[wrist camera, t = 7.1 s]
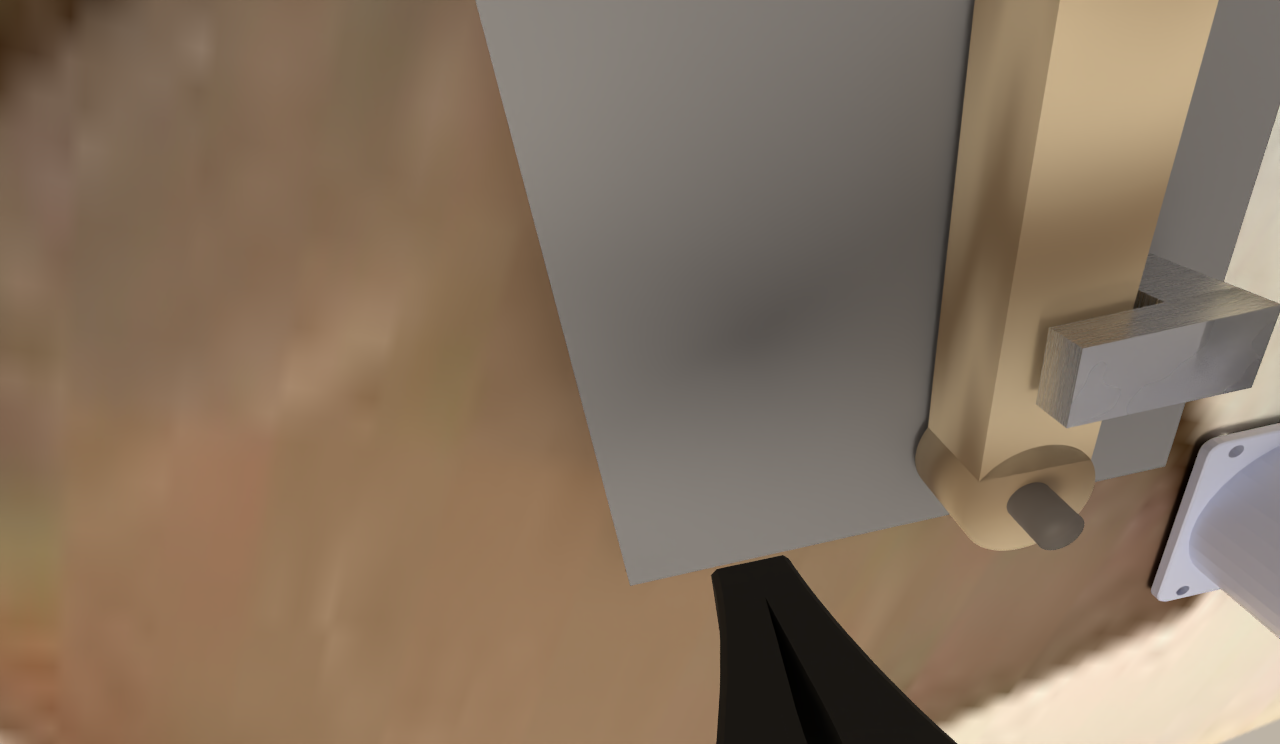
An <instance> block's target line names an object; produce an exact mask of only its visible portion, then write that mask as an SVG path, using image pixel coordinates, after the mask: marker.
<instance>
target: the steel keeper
mask: <svg viewBox="0 0 1280 744" xmlns="http://www.w3.org/2000/svg"><path fill="white" fill-rule="evenodd" d="M1279 313H1280V304H1279V303H1276V302H1274V301H1271V300H1269V299H1266V298H1264V297H1261V296H1258V295H1256V294H1253V293H1251V292H1248V291H1246V290H1243V289H1240V288H1238V287H1235V286H1233V285H1230V284H1228V283H1225V282H1223V281H1220V280H1217V279H1215V278H1212V277H1210V276H1207V275H1205V274H1202V273H1199V272H1197V271H1194V270H1192V269H1189V268H1187V267H1184V266H1182V265H1179V264H1176V263H1174V262H1171V261H1169V260H1166V259H1164V258H1161V257H1159V256H1156V255H1153V254H1151V253H1148V257H1147V260H1146V264H1145V267H1144V271H1143V275H1142V278H1141V282H1140V285H1139V289H1138V293H1137V296H1136V300H1135V303H1134V307H1133V309H1131V310H1127V311H1122V312H1117V313H1113V314H1108V315H1104V316H1099V317H1094V318H1090V319H1085V320H1081V321H1076V322H1071V323H1067V324H1062V325H1058V326H1053V327H1049V330H1048V336H1047V342H1046V348H1045V353H1044V359H1043V365H1042V371H1041V377H1040V382H1039V388H1038V394H1037V400H1036V405H1038V406H1039V407H1040V408H1041V409H1043V410H1044V411H1045V412H1046V413H1048V414H1049V415H1050V416H1052V417H1053V418H1054V419H1055V420H1057V421H1058V422H1059V423H1060V424H1062V425H1063V426H1064V427H1065V428H1070V427H1075V426H1080V425H1084V424H1089V423H1093V422H1098V421H1102V420H1107V419H1111V418H1116V417H1120V416H1125V415H1129V414H1134V413H1138V412H1143V411H1147V410H1152V409H1156V408H1161V407H1165V406H1170V405H1175V404H1179V403H1184V402H1188V401H1193V400H1197V399H1202V398H1206V397H1211V396H1215V395H1220V394H1224V393H1229V392H1233V391H1238V390H1242V389H1247V388H1251V387H1252V385H1253V382H1254V379H1255V377H1256V374H1257V371H1258V369H1259V366H1260V363H1261V361H1262V358H1263V355H1264V353H1265V350H1266V348H1267V345H1268V342H1269V340H1270V337H1271V334H1272V332H1273V329H1274V326H1275V324H1276V321H1277V318H1278V316H1279Z"/></svg>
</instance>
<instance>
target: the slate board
mask: <svg viewBox="0 0 1280 744" xmlns="http://www.w3.org/2000/svg"><path fill="white" fill-rule="evenodd" d="M974 3H975V0H476V4H477V8H478V12H479V15H480V19H481V23H482V27H483V30H484V34H485V38H486V42H487V46H488V49H489V53H490V57H491V61H492V64H493V68H494V72H495V76H496V80H497V83H498V87H499V91H500V95H501V99H502V102H503V106H504V110H505V114H506V117H507V121H508V125H509V129H510V133H511V136H512V140H513V144H514V148H515V152H516V155H517V159H518V163H519V167H520V170H521V174H522V178H523V182H524V186H525V189H526V193H527V197H528V201H529V205H530V208H531V212H532V216H533V220H534V223H535V227H536V231H537V235H538V239H539V242H540V246H541V250H542V254H543V258H544V261H545V265H546V269H547V273H548V276H549V280H550V284H551V288H552V292H553V295H554V299H555V303H556V307H557V310H558V314H559V318H560V322H561V326H562V329H563V333H564V337H565V341H566V345H567V348H568V352H569V356H570V360H571V363H572V367H573V371H574V375H575V379H576V382H577V386H578V390H579V394H580V398H581V401H582V405H583V409H584V413H585V416H586V420H587V424H588V428H589V432H590V435H591V439H592V443H593V447H594V451H595V454H596V458H597V462H598V466H599V469H600V473H601V477H602V481H603V485H604V488H605V492H606V496H607V500H608V504H609V507H610V511H611V515H612V519H613V522H614V526H615V530H616V534H617V538H618V541H619V545H620V549H621V553H622V556H623V560H624V564H625V568H626V572H627V575H628V579H629V583H630V586H631V585H636V584H640V583H645V582H649V581H653V580H658V579H662V578H667V577H671V576H676V575H680V574H685V573H689V572H694V571H698V570H703V569H707V568H712V567H716V566H721V565H725V564H730V563H734V562H739V561H743V560H748V559H752V558H756V557H761V556H765V555H770V554H774V553H779V552H783V551H788V550H792V549H797V548H801V547H806V546H810V545H815V544H819V543H824V542H828V541H833V540H837V539H842V538H846V537H850V536H855V535H859V534H864V533H868V532H873V531H877V530H882V529H886V528H891V527H895V526H900V525H904V524H909V523H913V522H918V521H922V520H927V519H931V518H936V517H940V516H945V515H949V512H948V511H947V510H946V509H945V508H944V506H943V505H942V504H941V503H940V501H939V500H938V499H937V498H936V496H935V495H934V494H933V493H932V491H931V490H930V489H929V488H928V486H927V485H926V484H925V483H924V482H923V480H922V479H921V478H920V476H919V474H918V472H917V469H916V464H915V455H916V450H917V447H918V444H919V441H920V439H921V437H922V435H923V434H924V432H925V431H926V429H927V428H928V423H929V414H930V405H931V395H932V386H933V377H934V368H935V359H936V350H937V341H938V332H939V322H940V313H941V304H942V295H943V286H944V277H945V268H946V259H947V249H948V240H949V231H950V222H951V213H952V204H953V195H954V186H955V176H956V167H957V158H958V149H959V140H960V131H961V122H962V113H963V103H964V94H965V85H966V76H967V67H968V58H969V49H970V40H971V30H972V21H973V12H974ZM1279 106H1280V0H1219V1H1218V5H1217V8H1216V12H1215V15H1214V19H1213V23H1212V26H1211V30H1210V33H1209V37H1208V41H1207V44H1206V48H1205V51H1204V55H1203V59H1202V62H1201V66H1200V69H1199V73H1198V77H1197V80H1196V84H1195V87H1194V91H1193V95H1192V98H1191V102H1190V105H1189V109H1188V113H1187V116H1186V120H1185V123H1184V127H1183V131H1182V134H1181V138H1180V141H1179V145H1178V149H1177V152H1176V156H1175V159H1174V163H1173V167H1172V170H1171V174H1170V177H1169V181H1168V185H1167V188H1166V192H1165V195H1164V199H1163V203H1162V206H1161V210H1160V213H1159V217H1158V221H1157V224H1156V228H1155V231H1154V235H1153V239H1152V242H1151V246H1150V249H1149V253H1151V254H1153V255H1156V256H1159V257H1161V258H1164V259H1166V260H1169V261H1171V262H1174V263H1176V264H1179V265H1182V266H1184V267H1187V268H1189V269H1192V270H1194V271H1197V272H1199V273H1202V274H1205V275H1207V276H1210V277H1212V278H1215V279H1217V280H1220V281H1223V282H1224V279H1225V276H1226V273H1227V270H1228V266H1229V263H1230V260H1231V257H1232V254H1233V251H1234V248H1235V244H1236V241H1237V238H1238V235H1239V232H1240V229H1241V225H1242V222H1243V219H1244V216H1245V213H1246V210H1247V207H1248V203H1249V200H1250V197H1251V194H1252V191H1253V188H1254V184H1255V181H1256V178H1257V175H1258V172H1259V169H1260V166H1261V162H1262V159H1263V156H1264V153H1265V150H1266V147H1267V143H1268V140H1269V137H1270V134H1271V131H1272V128H1273V125H1274V121H1275V118H1276V115H1277V112H1278V109H1279ZM1184 405H1185V402H1184V403H1179V404H1175V405H1170V406H1165V407H1161V408H1156V409H1152V410H1147V411H1143V412H1138V413H1134V414H1129V415H1125V416H1120V417H1116V418H1111V419H1107V420H1102V422H1101V426H1100V430H1099V433H1098V437H1097V440H1096V444H1095V448H1094V451H1093V455H1092V458H1091V461H1092V463H1093V465H1094V468H1095V482H1097V481H1101V480H1106V479H1110V478H1115V477H1119V476H1124V475H1128V474H1133V473H1137V472H1142V471H1146V470H1151V469H1155V468H1159V467H1164V466H1165V465H1166V462H1167V459H1168V456H1169V453H1170V449H1171V446H1172V443H1173V440H1174V437H1175V434H1176V431H1177V427H1178V424H1179V421H1180V418H1181V415H1182V412H1183V408H1184Z"/></svg>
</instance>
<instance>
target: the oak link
mask: <svg viewBox="0 0 1280 744" xmlns="http://www.w3.org/2000/svg"><path fill="white" fill-rule="evenodd" d="M1218 1H1219V0H975V3H974V12H973V21H972V30H971V40H970V49H969V58H968V67H967V76H966V85H965V94H964V103H963V113H962V122H961V131H960V140H959V149H958V158H957V167H956V176H955V186H954V195H953V204H952V213H951V222H950V231H949V240H948V249H947V259H946V268H945V277H944V286H943V295H942V304H941V313H940V322H939V332H938V341H937V350H936V359H935V368H934V377H933V386H932V395H931V405H930V414H929V423H928V428H927V429H926V431H925V432H924V434H923V435H922V437H921V439H920V441H919V444H918V447H917V450H916V455H915V464H916V469H917V472H918V474H919V476H920V478H921V479H922V480H923V482H924V483H925V484H926V485H927V486H928V488H929V489H930V490H931V491H932V493H933V494H934V495H935V496H936V498H937V499H938V500H939V501H940V503H941V504H942V505H943V506H944V508H945V509H946V510H947V511H948V512H949V514H950V515H951V516H952V517H953V519H954V520H955V521H956V522H957V524H958V525H959V526H960V527H961V529H962V530H963V531H964V532H965V534H966V535H967V536H968V537H969V538H970V539H971V541H973V542H974V543H975V544H977V545H979V546H981V547H983V548H986V549H991V550H1000V551H1004V550H1014V549H1019V548H1023V547H1027V546H1030V545H1033V544H1036V543H1037V544H1038V545H1039V547H1041V548H1042V549H1045V550H1056V549H1060V548H1063V547H1065V546H1067V545H1069V544H1070V543H1072V542H1073V541H1074V540H1075V539H1077V538H1078V536H1079V535H1080V534H1081V532H1082V530H1083V528H1084V520H1083V518H1082V517H1081V516H1080V515H1079V512H1080V511H1081V510H1082V509H1083V507H1084V506H1085V504H1086V503H1087V501H1088V499H1089V497H1090V495H1091V493H1092V490H1093V488H1094V483H1095V468H1094V465H1093V463H1092V461H1091V458H1092V455H1093V451H1094V448H1095V444H1096V440H1097V437H1098V433H1099V430H1100V426H1101V422H1102V421H1098V422H1093V423H1089V424H1084V425H1080V426H1075V427H1070V428H1065V427H1064V426H1063V425H1062V424H1060V423H1059V422H1058V421H1057V420H1055V419H1054V418H1053V417H1052V416H1050V415H1049V414H1048V413H1046V412H1045V411H1044V410H1043V409H1041V408H1040V407H1039V406H1038V405H1036V400H1037V394H1038V388H1039V382H1040V377H1041V371H1042V365H1043V359H1044V353H1045V348H1046V342H1047V336H1048V330H1049V327H1053V326H1058V325H1062V324H1067V323H1071V322H1076V321H1081V320H1085V319H1090V318H1094V317H1099V316H1104V315H1108V314H1113V313H1117V312H1122V311H1127V310H1131V309H1133V307H1134V303H1135V300H1136V296H1137V293H1138V289H1139V285H1140V282H1141V278H1142V275H1143V271H1144V267H1145V264H1146V260H1147V257H1148V253H1149V249H1150V246H1151V242H1152V239H1153V235H1154V231H1155V228H1156V224H1157V221H1158V217H1159V213H1160V210H1161V206H1162V203H1163V199H1164V195H1165V192H1166V188H1167V185H1168V181H1169V177H1170V174H1171V170H1172V167H1173V163H1174V159H1175V156H1176V152H1177V149H1178V145H1179V141H1180V138H1181V134H1182V131H1183V127H1184V123H1185V120H1186V116H1187V113H1188V109H1189V105H1190V102H1191V98H1192V95H1193V91H1194V87H1195V84H1196V80H1197V77H1198V73H1199V69H1200V66H1201V62H1202V59H1203V55H1204V51H1205V48H1206V44H1207V41H1208V37H1209V33H1210V30H1211V26H1212V23H1213V19H1214V15H1215V12H1216V8H1217V5H1218Z"/></svg>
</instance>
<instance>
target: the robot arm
mask: <svg viewBox="0 0 1280 744" xmlns="http://www.w3.org/2000/svg"><path fill="white" fill-rule="evenodd" d="M711 577H712V583H713V590H714V597H715V603H716V610H717V617H718V623H719V630H720V698H719V713H718V728H717V742H716V744H957V743H956V742H955V741H954V740H953V739H952V738H950V737H949V736H948V735H947V734H946V733H945V732H944V731H943V730H942V729H940V728H939V727H938V726H937V725H936V724H935V723H934V722H933V721H932V720H931V719H930V718H929V717H928V716H927V715H925V714H924V713H923V712H922V711H921V710H920V709H919V708H918V707H917V706H916V705H915V704H914V703H913V702H912V701H911V700H910V699H909V698H908V697H907V696H906V695H905V694H904V693H903V692H902V691H901V690H900V689H899V688H898V687H897V686H896V685H895V684H894V683H893V682H892V681H891V680H890V679H889V678H888V677H887V676H886V675H885V674H884V673H883V672H882V671H881V670H880V669H879V668H878V666H877V665H876V664H875V663H874V662H873V661H872V660H871V659H870V658H869V657H868V656H867V655H866V653H865V652H864V651H863V650H862V649H861V648H860V647H859V646H858V645H857V644H856V642H855V641H854V640H853V639H852V638H851V637H850V636H849V635H848V634H847V632H846V631H845V630H844V629H843V628H842V627H841V626H840V624H839V623H838V622H837V621H836V620H835V619H834V617H833V616H832V615H831V614H830V613H829V611H828V610H827V609H826V608H825V606H824V605H823V604H822V603H821V602H820V600H819V599H818V598H817V597H816V595H815V594H814V593H813V591H812V590H811V589H810V588H809V586H808V585H807V584H806V582H805V581H804V580H803V578H802V577H801V576H800V574H799V573H798V571H797V570H796V569H795V567H794V566H793V564H792V563H791V561H790V560H789V559H788V558H786V557H785V556H783V555H782V556H777V557H773V558H768V559H763V560H758V561H754V562H749V563H744V564H739V565H735V566H730V567H725V568H720V569H717V570H716V571H715V572H714V573H713V574H712V575H711ZM1218 589H1222V590H1223V591H1224V592H1225V593H1226V594H1228V595H1229V596H1230V597H1231V598H1232V599H1233V600H1235V601H1236V602H1237V603H1238V604H1239V605H1240V606H1242V607H1243V608H1244V609H1245V610H1246V611H1248V612H1249V613H1250V614H1251V615H1252V616H1253V617H1255V618H1256V619H1257V620H1258V621H1259V622H1260V623H1262V624H1263V625H1264V626H1265V627H1266V628H1268V629H1269V630H1270V631H1271V632H1272V633H1273V634H1275V635H1276V636H1277V637H1278V638H1279V639H1280V423H1277V424H1273V425H1268V426H1264V427H1259V428H1255V429H1250V430H1246V431H1241V432H1237V433H1232V434H1228V435H1223V436H1219V437H1215V438H1212V439H1210V440H1208V441H1206V442H1205V443H1204V444H1203V445H1202V446H1201V448H1200V450H1199V452H1198V455H1197V458H1196V461H1195V464H1194V466H1193V469H1192V472H1191V475H1190V478H1189V481H1188V484H1187V487H1186V490H1185V492H1184V495H1183V498H1182V501H1181V504H1180V507H1179V510H1178V513H1177V516H1176V518H1175V521H1174V524H1173V527H1172V530H1171V533H1170V536H1169V539H1168V542H1167V544H1166V547H1165V550H1164V553H1163V556H1162V559H1161V562H1160V565H1159V568H1158V570H1157V573H1156V576H1155V579H1154V582H1153V585H1152V588H1151V593H1152V594H1153V595H1154V596H1155V597H1156V598H1157V599H1158V600H1159V601H1170V600H1175V599H1179V598H1183V597H1188V596H1192V595H1196V594H1201V593H1205V592H1210V591H1214V590H1218Z"/></svg>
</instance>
